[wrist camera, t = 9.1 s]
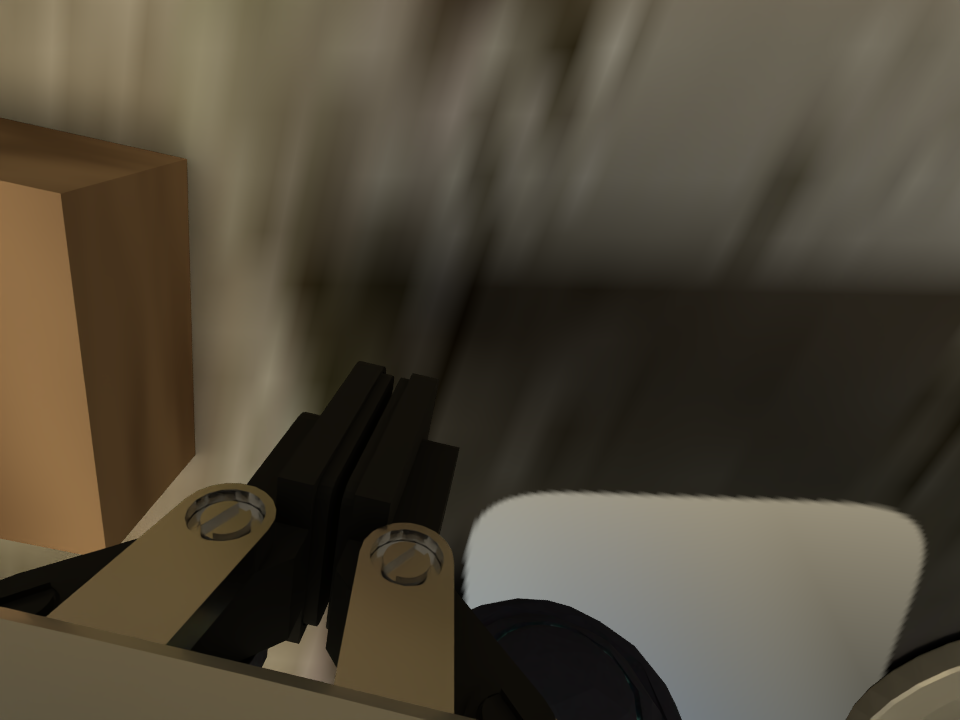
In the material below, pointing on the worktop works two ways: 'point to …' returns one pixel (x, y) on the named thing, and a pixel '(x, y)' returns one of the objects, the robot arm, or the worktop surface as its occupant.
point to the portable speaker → (577, 662)
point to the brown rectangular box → (90, 336)
